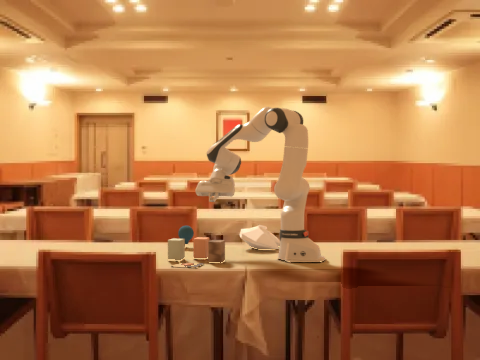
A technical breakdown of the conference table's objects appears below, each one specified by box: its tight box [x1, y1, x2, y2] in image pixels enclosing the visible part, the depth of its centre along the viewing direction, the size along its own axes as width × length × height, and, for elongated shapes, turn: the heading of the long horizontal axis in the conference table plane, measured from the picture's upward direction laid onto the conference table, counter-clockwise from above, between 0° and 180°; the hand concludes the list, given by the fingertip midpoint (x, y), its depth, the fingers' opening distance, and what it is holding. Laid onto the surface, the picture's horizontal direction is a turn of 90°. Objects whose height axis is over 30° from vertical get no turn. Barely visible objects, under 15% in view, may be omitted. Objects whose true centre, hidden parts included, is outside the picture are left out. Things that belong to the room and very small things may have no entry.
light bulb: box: [177, 225, 195, 245], centre depth 294 cm, size 8×8×12 cm
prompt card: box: [181, 262, 205, 267], centre depth 242 cm, size 12×9×1 cm
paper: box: [239, 224, 280, 249], centre depth 289 cm, size 25×24×12 cm
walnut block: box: [207, 239, 226, 263], centre depth 250 cm, size 6×6×10 cm
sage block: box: [167, 237, 186, 260], centre depth 256 cm, size 6×6×10 cm
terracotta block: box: [192, 236, 211, 258], centre depth 259 cm, size 6×6×10 cm
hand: (211, 201), depth 274 cm, fingers closed
